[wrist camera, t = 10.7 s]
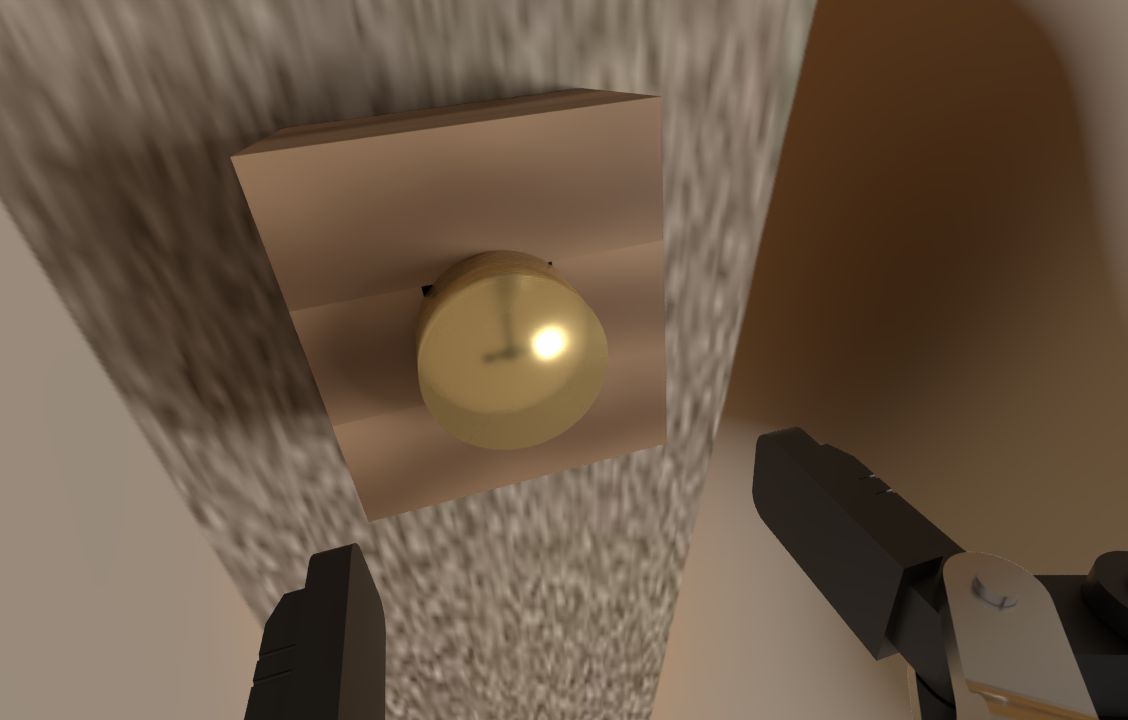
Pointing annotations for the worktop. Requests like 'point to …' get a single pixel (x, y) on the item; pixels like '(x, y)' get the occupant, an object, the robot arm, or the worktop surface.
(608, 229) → the block
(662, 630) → the worktop surface
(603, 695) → the worktop surface
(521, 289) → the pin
